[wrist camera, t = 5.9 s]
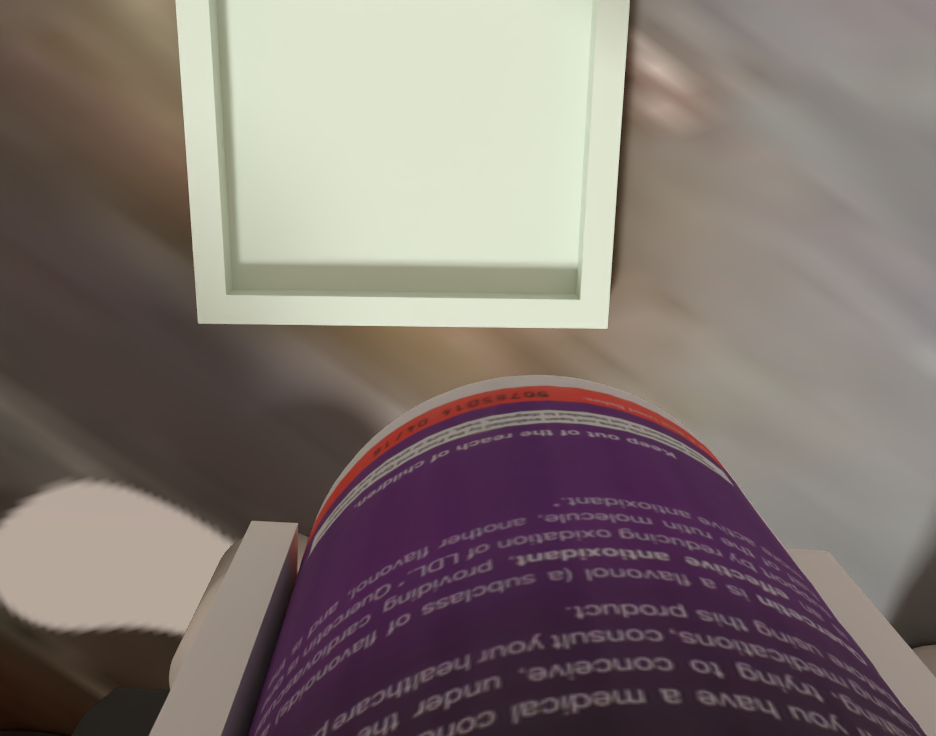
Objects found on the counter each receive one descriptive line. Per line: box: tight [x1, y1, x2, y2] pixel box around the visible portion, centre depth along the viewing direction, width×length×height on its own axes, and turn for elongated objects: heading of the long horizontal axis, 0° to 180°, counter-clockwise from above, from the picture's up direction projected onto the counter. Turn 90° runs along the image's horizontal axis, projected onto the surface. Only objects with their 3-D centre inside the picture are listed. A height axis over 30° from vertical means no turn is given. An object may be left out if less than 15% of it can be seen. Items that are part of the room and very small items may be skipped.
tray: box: [176, 0, 630, 329], centre depth 28 cm, size 14×14×2 cm
